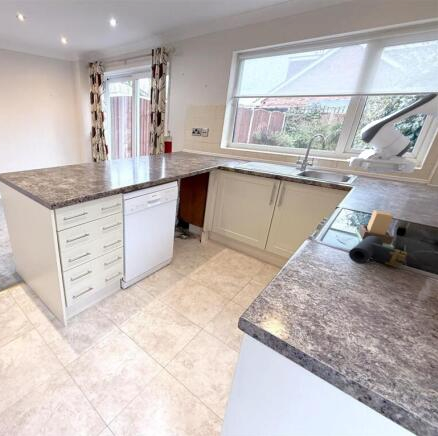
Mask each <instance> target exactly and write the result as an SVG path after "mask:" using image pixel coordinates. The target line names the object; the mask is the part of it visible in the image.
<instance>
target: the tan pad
mask: <svg viewBox="0 0 438 436" xmlns="http://www.w3.org/2000/svg"><path fill="white" fill-rule="evenodd" d="M393 218H394V215H393V214H392V213H391V212H390V211H385V210H378V209H374V210H373V211H372V213H371V215H370V219H369V220H368V224H367V225H368V226H367V228H366V230H367V232H373V233H378V234H383V235H385V234H386V231H387V229H388V230H389V227H390V224H391V223H392V220H393Z"/></svg>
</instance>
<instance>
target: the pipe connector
mask: <svg viewBox="0 0 438 436" xmlns="http://www.w3.org/2000/svg"><path fill="white" fill-rule="evenodd" d="M348 256H349V259H350V260H351V261H353V262H354V261H355V263H357V264H364V263H367V262H368V261H369V260H370V259H371V260H375V261H378V262H380V263H384V264H385V265H388V266H391V267H394V268H396V269H401V267H402V266H403V264H404V262H405V259H406V257H407V256H408V252H406V251H402V250H401V249H396V248H393V249H392V248H389V247H385V246H383V242H382V240H381V239H380V238H378V237H376V236H368V237H366V238H365V239H364V240H363V241H361V242H360V241H359V243H358V244H356V245H355V246H353V248H351V249H350V250H349V252H348Z"/></svg>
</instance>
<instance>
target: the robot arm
mask: <svg viewBox="0 0 438 436" xmlns="http://www.w3.org/2000/svg"><path fill="white" fill-rule="evenodd" d="M415 115H426V116H430V117H434V118H438V93H435V92H433V93H429V94H426V95H424V96H422V97H420V98H418V99H416V100H414V101H412V102H410V103H408V104H407V105H404V106H403V107H400V108H399V109H397V110H395V111H393V112H391V113H389V114H387V115H386V116H384V117H382V118H380V119H377V120H375V121H373V122H371V123H369V124H367V125H366V126H365V127H364V128H363V129H362V130H361V132H360V139H361V141H362V142H363V143H365V144H367V145H369V146H370V147H371V148H372V149H367V150H364V151H362V152H361V153H360V154H359V156H357V157H356V156H353V157H351V158H350V159H347V160H346V161H347V163H349V164H348V167H350V168H355V169H364V170H365V171H366V172H368V173H371V174H380V173H408V174H409V173H410V174H411V173H413V172H414V170H415V168H416V164H417V163H415V162H414V161H413V160H410V159H407V158H406V156H404V155H405V154H406V153H407V152H408V151H409V150H410V148H411V144H412V140H411V139H410V138H408V137H407V136H406V135H404V134H403V133H402V132H400V131H398V129H396V128H395V127H394V126H393V125H396V124H397V123H400V122H401V121H404V120H405V119H407V118H410V117H411V116H415Z"/></svg>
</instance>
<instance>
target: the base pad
mask: <svg viewBox="0 0 438 436" xmlns="http://www.w3.org/2000/svg"><path fill="white" fill-rule="evenodd" d="M367 226H368V224H362V223H361V224H360V225H359V228H356V229H354V232H355V235H356V237H357V239H358V240H359V243H360V242H361V241H363V240H364V239H365V238H366V237H368V236H376V237H378V238H380V239H381V240H382V242H383V246H385V247H389V248H392V249H395V247H394V245H393V244H392V243H393V242H394V241H393V240H394V238H395V236H394V235H393V234H392V233H391V231H390V230H389V228H388V229H387V231H386V234H385V235H383V234H378V233H373V232H367V230H366V228H367Z"/></svg>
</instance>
